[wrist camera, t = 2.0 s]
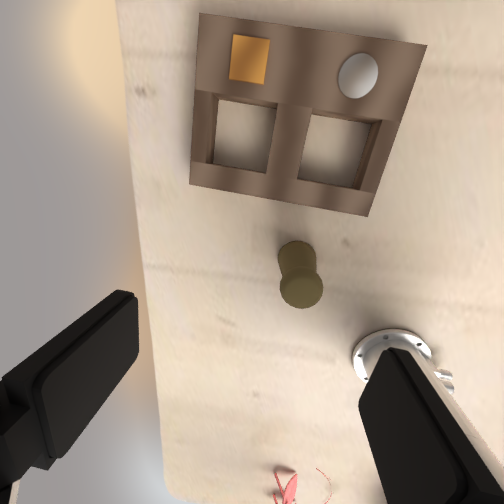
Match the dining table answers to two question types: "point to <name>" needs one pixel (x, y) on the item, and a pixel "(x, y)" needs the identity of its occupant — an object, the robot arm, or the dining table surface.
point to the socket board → (299, 103)
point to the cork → (299, 275)
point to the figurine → (289, 490)
